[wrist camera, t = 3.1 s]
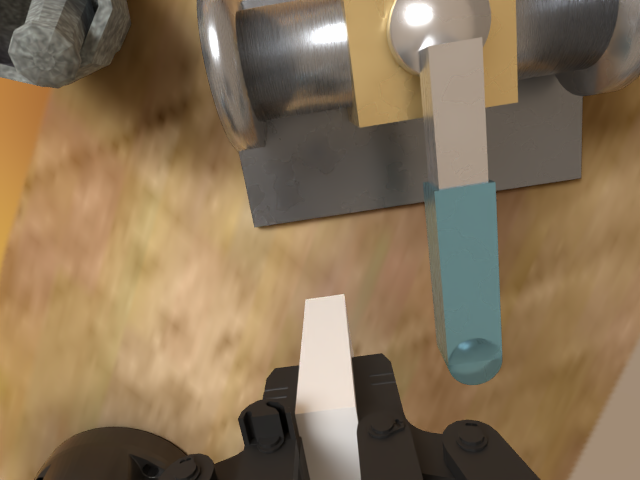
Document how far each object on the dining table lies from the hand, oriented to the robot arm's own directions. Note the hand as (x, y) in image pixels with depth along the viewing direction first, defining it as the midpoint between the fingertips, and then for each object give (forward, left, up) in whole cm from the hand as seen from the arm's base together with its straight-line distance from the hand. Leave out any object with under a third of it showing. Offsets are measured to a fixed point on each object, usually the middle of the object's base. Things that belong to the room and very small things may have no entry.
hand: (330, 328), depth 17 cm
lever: (+7, +3, -8) cm, 11 cm away
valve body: (+7, +8, -17) cm, 20 cm away
